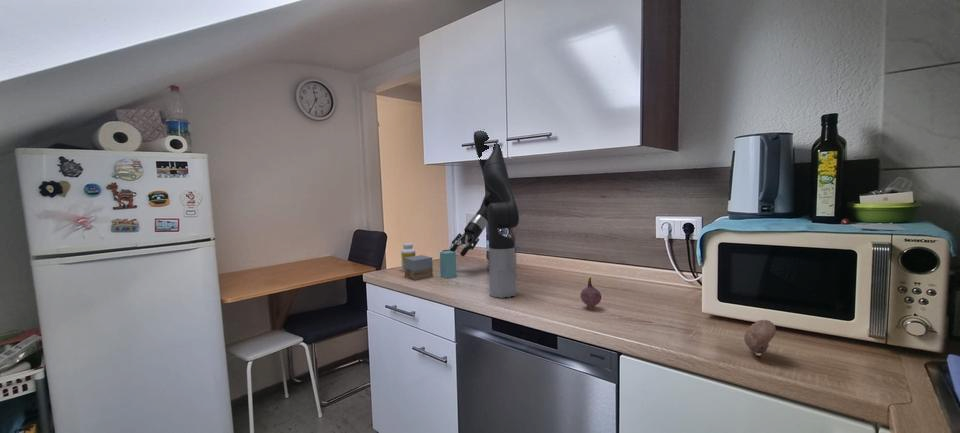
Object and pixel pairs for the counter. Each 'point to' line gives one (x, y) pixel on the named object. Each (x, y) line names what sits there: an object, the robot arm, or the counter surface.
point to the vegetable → (590, 295)
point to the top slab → (418, 262)
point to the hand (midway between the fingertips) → (456, 254)
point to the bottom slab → (418, 274)
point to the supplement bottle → (407, 252)
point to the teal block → (448, 264)
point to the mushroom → (759, 335)
